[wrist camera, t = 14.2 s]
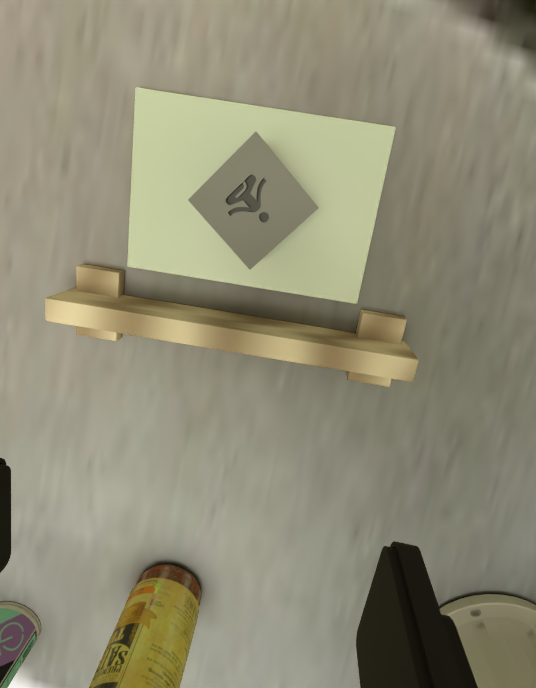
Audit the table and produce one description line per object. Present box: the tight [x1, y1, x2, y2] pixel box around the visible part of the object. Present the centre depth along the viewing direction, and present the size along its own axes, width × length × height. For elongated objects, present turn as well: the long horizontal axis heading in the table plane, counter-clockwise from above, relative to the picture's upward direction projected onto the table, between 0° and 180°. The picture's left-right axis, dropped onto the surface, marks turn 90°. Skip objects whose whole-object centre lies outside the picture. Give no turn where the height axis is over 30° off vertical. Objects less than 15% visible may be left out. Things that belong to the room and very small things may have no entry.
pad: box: [127, 87, 396, 304], centre depth 28 cm, size 16×11×1 cm
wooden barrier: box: [45, 264, 419, 387], centre depth 29 cm, size 24×5×4 cm, turn 81°
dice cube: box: [188, 132, 319, 270], centre depth 25 cm, size 5×5×5 cm
